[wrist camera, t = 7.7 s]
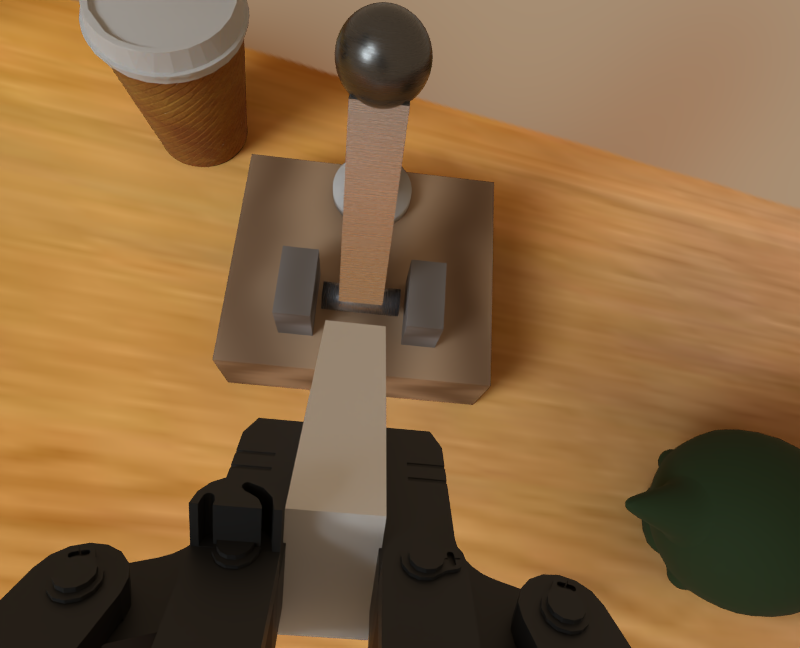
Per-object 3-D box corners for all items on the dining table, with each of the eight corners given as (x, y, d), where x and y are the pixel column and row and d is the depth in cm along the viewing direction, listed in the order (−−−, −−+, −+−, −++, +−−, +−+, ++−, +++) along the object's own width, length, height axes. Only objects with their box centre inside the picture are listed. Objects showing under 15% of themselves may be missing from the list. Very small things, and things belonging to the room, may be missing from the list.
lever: (318, 329, 33) (321, 22, 20) (326, 280, 36) (333, -23, 23) (396, 337, 33) (448, 38, 20) (398, 288, 36) (447, -7, 23)
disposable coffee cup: (294, 121, 46) (279, -16, 34) (214, 208, 42) (170, 88, 31) (195, 62, 47) (150, -90, 35) (110, 142, 43) (31, 3, 32)
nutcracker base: (228, 382, 38) (200, 341, 30) (262, 190, 43) (245, 114, 36) (472, 404, 39) (504, 371, 31) (477, 214, 44) (506, 146, 37)
